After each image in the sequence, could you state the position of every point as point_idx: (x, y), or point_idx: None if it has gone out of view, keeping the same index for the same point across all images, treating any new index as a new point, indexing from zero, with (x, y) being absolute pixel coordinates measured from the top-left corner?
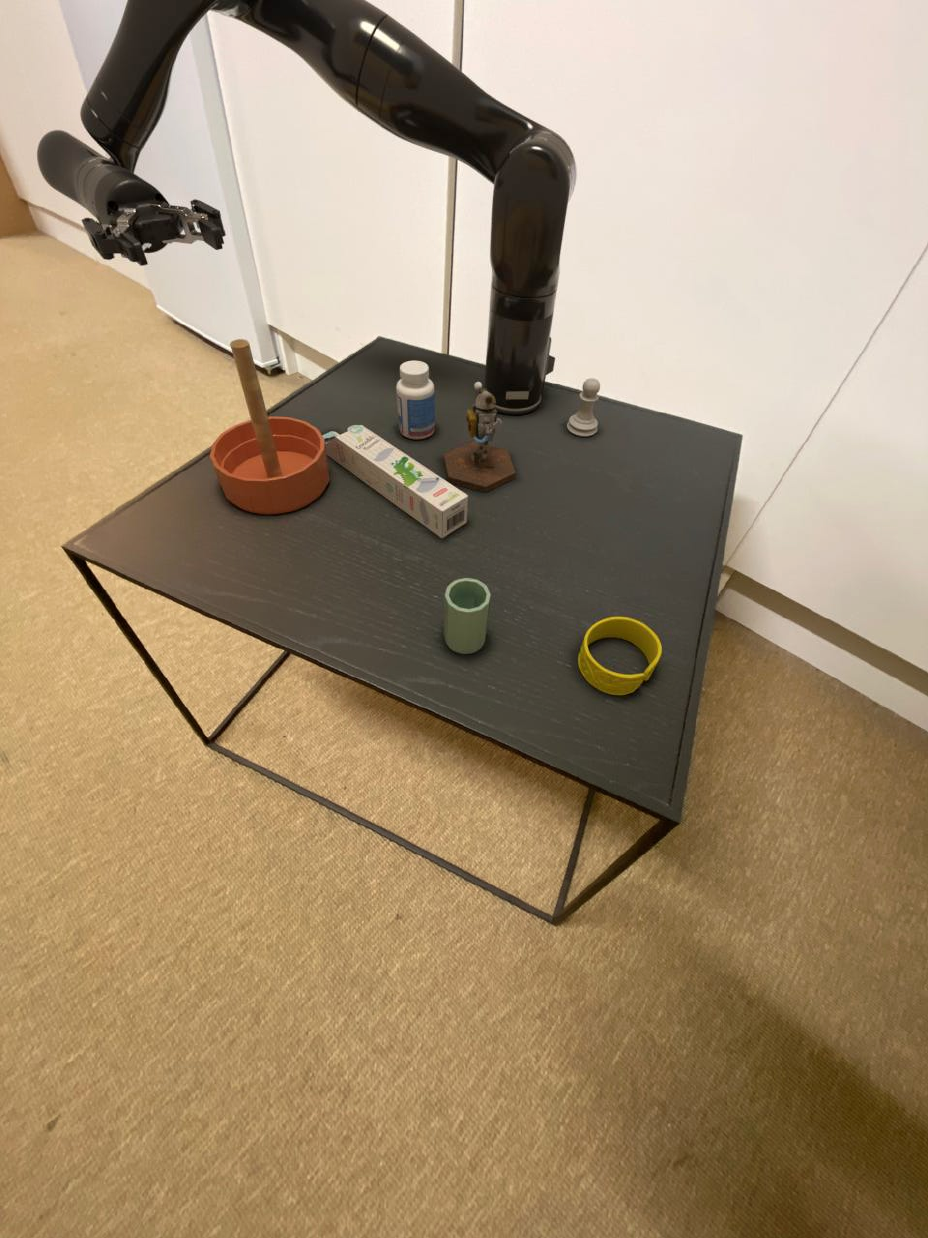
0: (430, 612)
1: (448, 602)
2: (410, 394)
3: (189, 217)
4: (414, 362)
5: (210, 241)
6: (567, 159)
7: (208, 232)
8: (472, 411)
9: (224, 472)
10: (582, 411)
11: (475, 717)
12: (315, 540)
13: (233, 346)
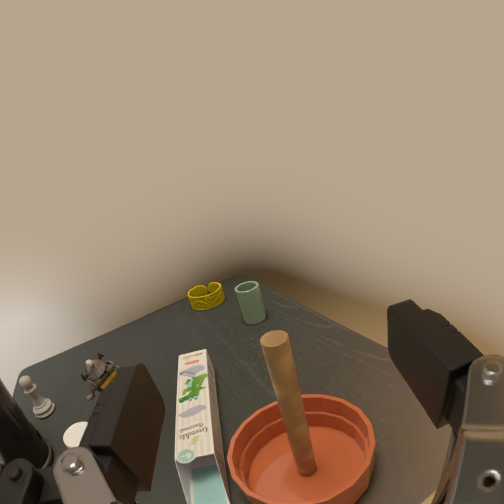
0: (261, 331)
1: (257, 284)
2: None
3: (114, 495)
4: (69, 440)
5: (152, 425)
6: None
7: (141, 401)
8: (104, 383)
9: (362, 412)
10: (39, 397)
11: (276, 294)
12: (302, 391)
13: (285, 332)
